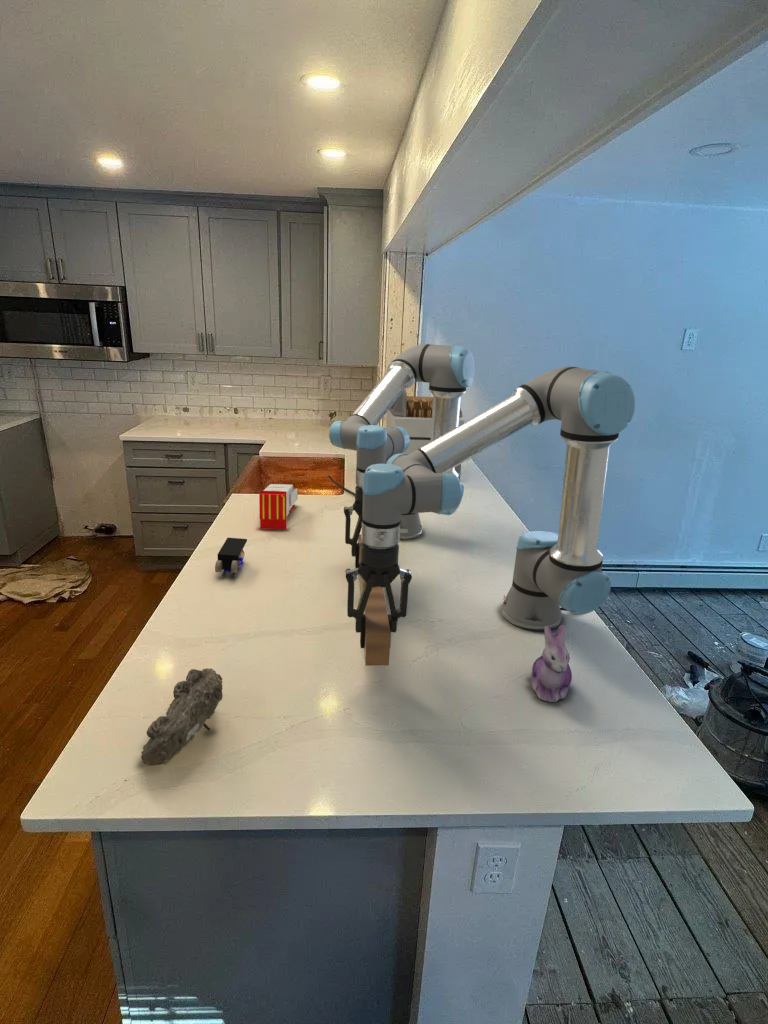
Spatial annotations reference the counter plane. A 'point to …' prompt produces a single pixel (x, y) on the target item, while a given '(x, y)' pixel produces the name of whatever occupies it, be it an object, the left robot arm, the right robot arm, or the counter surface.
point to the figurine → (552, 668)
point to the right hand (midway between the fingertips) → (375, 644)
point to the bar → (375, 625)
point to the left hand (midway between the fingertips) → (366, 566)
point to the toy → (276, 505)
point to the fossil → (183, 716)
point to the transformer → (415, 420)
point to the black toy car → (230, 556)
